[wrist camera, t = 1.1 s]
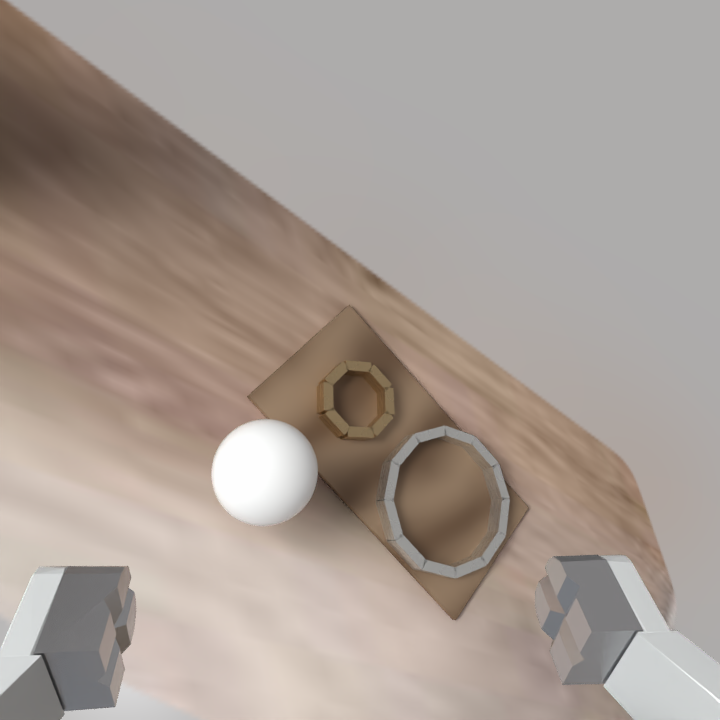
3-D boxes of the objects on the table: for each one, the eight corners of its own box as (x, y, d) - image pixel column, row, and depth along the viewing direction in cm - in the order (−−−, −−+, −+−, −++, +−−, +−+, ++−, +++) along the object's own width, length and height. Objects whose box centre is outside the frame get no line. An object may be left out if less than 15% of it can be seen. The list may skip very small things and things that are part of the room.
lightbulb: (275, 437, 44) (329, 409, 34) (279, 523, 42) (338, 519, 33) (189, 439, 41) (222, 410, 32) (190, 532, 40) (225, 530, 30)
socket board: (247, 396, 44) (253, 391, 42) (347, 306, 50) (356, 298, 48) (452, 619, 46) (466, 622, 44) (524, 508, 52) (540, 506, 50)
